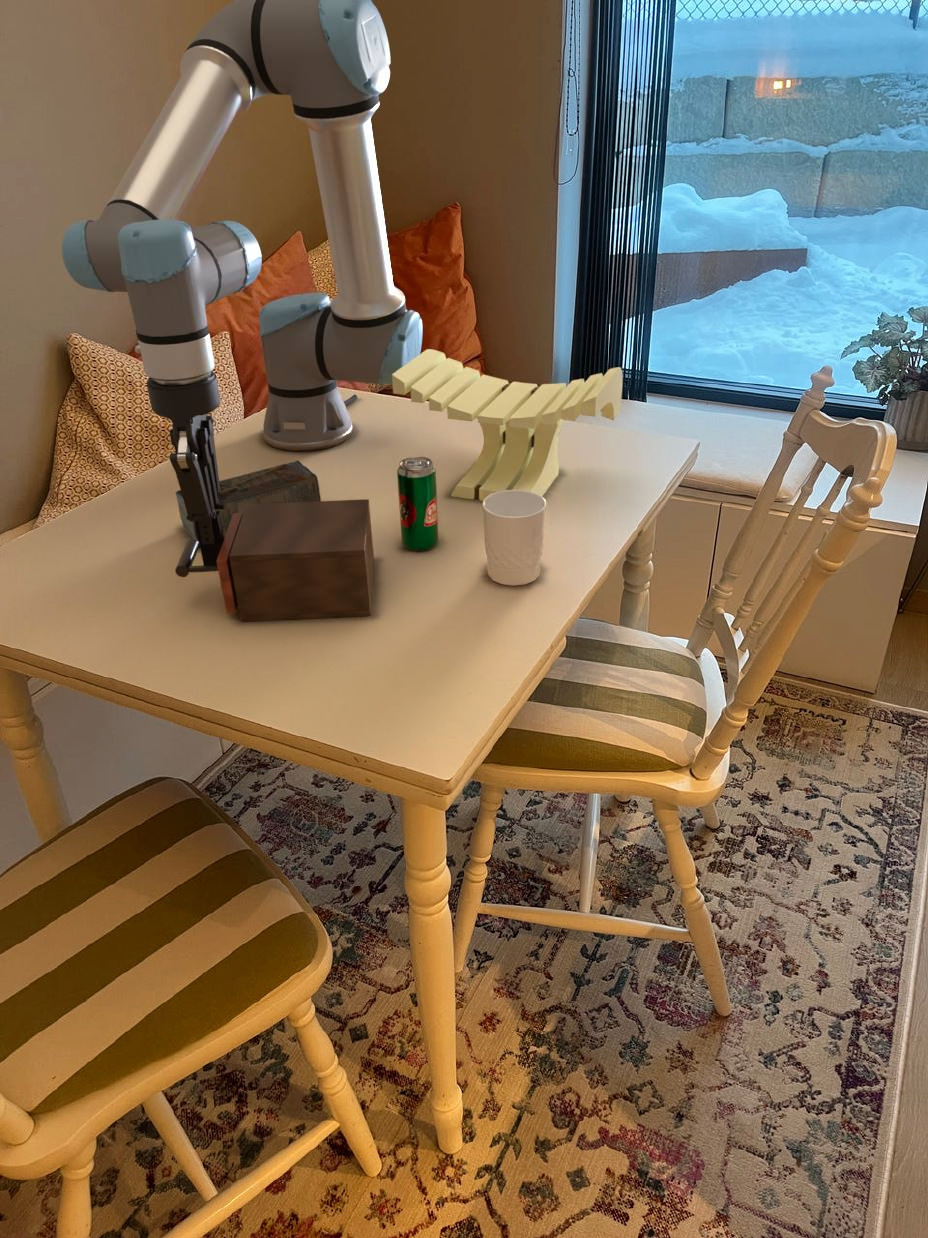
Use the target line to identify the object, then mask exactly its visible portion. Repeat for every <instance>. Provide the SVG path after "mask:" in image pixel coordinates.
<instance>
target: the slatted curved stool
mask: <svg viewBox="0 0 928 1238" xmlns="http://www.w3.org/2000/svg"><path fill="white" fill-rule="evenodd" d="M623 379H624V377H623V370H622V367H617V366H616V367H612V368H609V369H607V371H606V372H605V374H604V375H603V373H602V372H599V373H596V374H592V375H590V376H589V377H588V378H587V380H585V379H584V378H579V379H573V380H571V381H570V383H569V384H568V385H567V384H566V382H559V383H558V382H557V383H542V384H541V385H540V386H538V384H537V383H529V382H520V381H512V382H511V383H509V381H508V379H503V378H499V377H495V376H491V375H487V374H482V375H481V374H480V370H478V369H474V368H471V367H468V366H465V367H464V365H463V362H461V361H459V360H456V359H453V358H450V357H446V354H445V352H442V351H439V350H436V349H431V348H427V349H425V350H423V352H420V355H418V356H417V357H416V358H414V359H413V360H411V361H410V362H409V363H407V364H406V365H404V366H403V367H402V368H400V369H399V370H397V371H396V372H395V373H393V374H392V383H393V385H392V394H395V395H396V394H397V395H403V396H405V395H407V394H408V393H410V402H411V403H418V404H424V403H425V402H427V401H428V410H429V411H434V412H443V411H444V410H447V411H446V413H447V414H446V415H447V419H448V420H455V421H464V422H473V421H474V420H475V419H477V422H478V423H479V425H480V427H481V430H482V435H483V446H482V450H481V452H480V454H479V456H478V458H477V459H476V461H475V463H474V464H473V465H472V467H470V469H469V470H468V472H466V474H465V475H464V476H463V477H462V478H461V480H460V481H459V482H457V484H456V485H455V487H454V489H453V491H452V493H451V495H450V497H454V498H460V499H467V500H474V499H476V498H477V499H478V500H479V501H481V502H483V500H484V499H485V498H486V497H487V496H489V495H490V494H493V493H495V492H499V491H504V490H525V491H530V492H533V493H536V494H538V495H540V496H542V497H543V496H544V495H545V494H546V492H547V491H548V489H549V488H550V487H551V485H552V484H553V482H554V481H555V480H556V479H557V478H558V476H559V472H560V468H559V466H560V465H559V458H558V455H559V454H558V443H559V436H560V432H561V429H562V427H563V424H564V421H571V422H575V421H576V420H577V419H578V418H579V417H580V415H581V416H586V417H596V416H597V415H598V414H599V413H600V416H601V417H603V418H606V419H609V420H611V421H614V420H616V418H617V417H618V415H619V413H620V412H621V411H622V397H623V384H624V383H623V382H624V381H623Z"/></svg>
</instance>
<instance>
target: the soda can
mask: <svg viewBox="0 0 928 1238" xmlns="http://www.w3.org/2000/svg"><path fill="white" fill-rule="evenodd" d="M398 465H399V466H398V468H397V469H396V479H397V492H398V506H399V507H398V509H399V522H400V523H399V525H400V538H401V544H402V545H403V546H404V547H405V548H406V549H408V550H409V551H413V552H425V551H428V550H431V549H433V548H435V547H436V545H438V543H439V518H438V516H439V515H438V495H437V494H438V492H437V491H438V490H437V470H436V467H435V466H434V464H433V460H432V459H431V458H428V457H426V456H410V457H409V456H408V457H406V458H403V459H402V460H400V462H399V464H398Z"/></svg>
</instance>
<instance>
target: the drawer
mask: <svg viewBox="0 0 928 1238" xmlns="http://www.w3.org/2000/svg"><path fill="white" fill-rule="evenodd" d="M242 516H243V514H242V513H234V514H233V516H232V519H231V521H230V524H229V527H228V530H227V533H226V536H225V538H224V541H223V544H222V547H221V550H220V552H219V555H218V558H217V565H204V564H203V565H193V563H194V562H195V559H196V557H197V554H198V552H199V549H200V544H199V542H198V541H197V540H196V539H192V538H189V539H188V540H187V541H186V544H185V546H184V548H183V550H182V553H181V555H180V557H179V560H178V562H177V565H176V566H175V571H174V572H175V575H176V576H178V577H180V578H186V577H188V575H189V574H190V573H209V572H210V573H211V572H212V573H213V572H218V576H219V582H220V587H221V591H222V598H223V602H224V608H225V613H226V614H237V612H238V610H239V608H238V602H237V597H236V591H235V586H234V580H233V575H232V569H231V564H230V558H229V555H230V552H231V549H232V546H233V543H234V540H235V537H236V534H237V531H238V528H239V525H240V522H241V519H242ZM200 550H201V549H200Z"/></svg>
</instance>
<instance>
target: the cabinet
mask: <svg viewBox="0 0 928 1238" xmlns="http://www.w3.org/2000/svg"><path fill="white" fill-rule="evenodd" d="M370 510H371V509H370V499H368V498H366V499H363V498H362V499H346V500H345V499H344V500H343V499H341V500H321V501H316V502H293V503H269V504H247V505H246V507H245V510H244V513H243V516H242V519H241V522H240V525H239V528H238V531H237V534H236V537H235V540H234V543H233V546H232V549H231V552H230V555H229V558H230V564H231V569H232V575H233V580H234V586H235V591H236V597H237V602H238V612H239V616H240V617H239V618H240V622H242V623H244V622H245V623H247V622H265V621H266V622H268V621H289V620H306V619H307V620H313V619H330V618H331V619H333V618H355V617H371V615H372V602H373V601H372V599H373V584H374V569H375V567H374V566H375V555H374V554H375V553H374V545H373V544H374V543H373V533H372V522H371V521H372V520H371V519H372V518H371V511H370Z"/></svg>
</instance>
